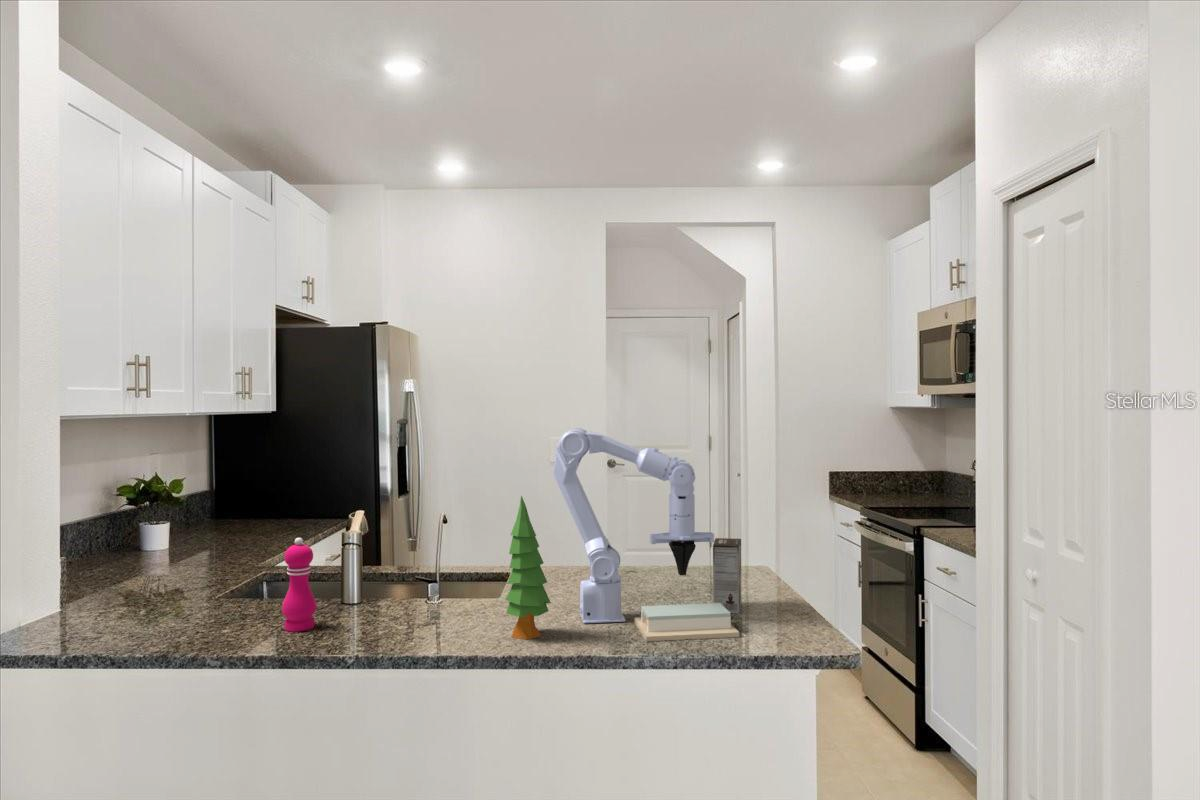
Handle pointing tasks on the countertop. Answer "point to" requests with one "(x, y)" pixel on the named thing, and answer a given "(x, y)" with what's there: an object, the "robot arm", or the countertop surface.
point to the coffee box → (727, 573)
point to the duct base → (685, 628)
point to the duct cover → (685, 611)
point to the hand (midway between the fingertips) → (682, 574)
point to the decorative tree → (526, 578)
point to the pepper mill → (299, 589)
